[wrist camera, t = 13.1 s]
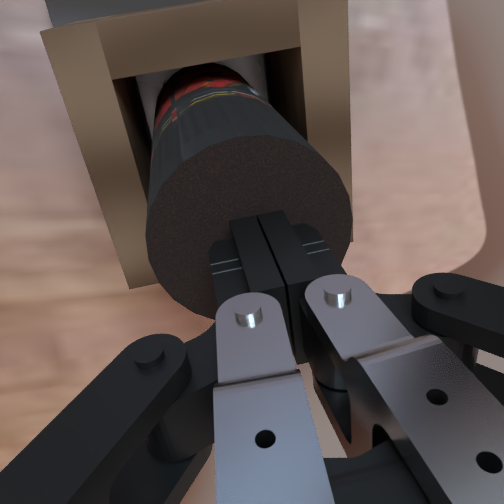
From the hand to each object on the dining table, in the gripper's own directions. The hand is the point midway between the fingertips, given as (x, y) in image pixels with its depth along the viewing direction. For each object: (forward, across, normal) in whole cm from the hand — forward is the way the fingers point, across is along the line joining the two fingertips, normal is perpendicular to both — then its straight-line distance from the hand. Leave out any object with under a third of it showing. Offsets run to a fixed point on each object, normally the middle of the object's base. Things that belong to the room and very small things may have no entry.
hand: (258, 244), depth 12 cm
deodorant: (+15, 0, 0) cm, 15 cm away
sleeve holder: (+17, 0, 0) cm, 17 cm away
